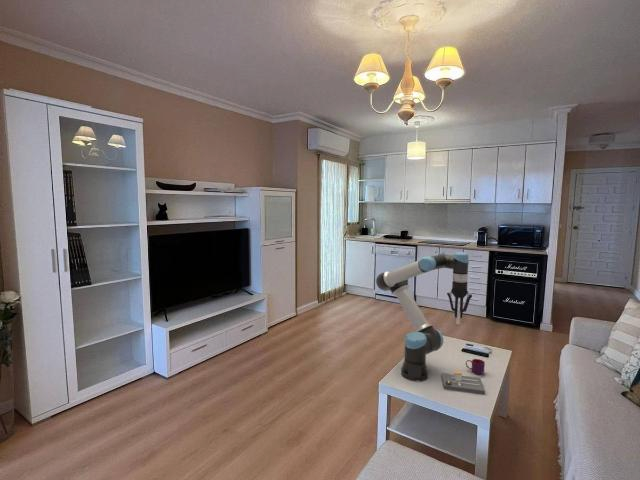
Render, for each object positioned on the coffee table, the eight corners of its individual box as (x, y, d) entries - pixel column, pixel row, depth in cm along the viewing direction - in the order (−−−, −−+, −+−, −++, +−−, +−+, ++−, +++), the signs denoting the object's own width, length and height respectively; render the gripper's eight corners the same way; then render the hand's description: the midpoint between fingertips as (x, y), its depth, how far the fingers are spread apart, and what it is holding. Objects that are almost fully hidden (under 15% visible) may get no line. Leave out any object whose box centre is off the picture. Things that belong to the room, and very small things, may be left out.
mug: (482, 376, 197) (483, 365, 197) (464, 371, 204) (464, 360, 203) (485, 372, 203) (486, 361, 202) (467, 367, 209) (468, 356, 208)
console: (443, 389, 184) (444, 383, 184) (441, 376, 198) (442, 371, 197) (484, 394, 179) (485, 388, 179) (480, 381, 192) (480, 375, 192)
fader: (454, 381, 188) (455, 373, 187) (454, 378, 190) (454, 370, 190) (461, 382, 187) (461, 373, 186) (460, 379, 189) (461, 371, 189)
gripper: (447, 281, 186) (445, 324, 188) (474, 283, 183) (471, 326, 185) (446, 278, 193) (444, 320, 196) (471, 280, 190) (469, 322, 192)
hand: (458, 323), depth 190 cm, fingers closed
